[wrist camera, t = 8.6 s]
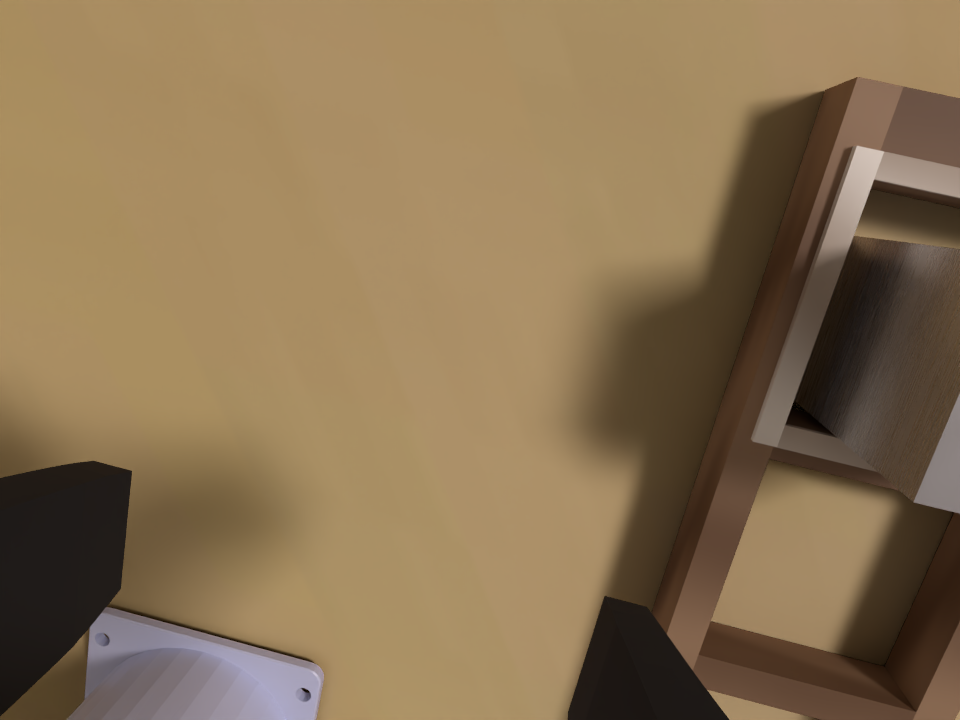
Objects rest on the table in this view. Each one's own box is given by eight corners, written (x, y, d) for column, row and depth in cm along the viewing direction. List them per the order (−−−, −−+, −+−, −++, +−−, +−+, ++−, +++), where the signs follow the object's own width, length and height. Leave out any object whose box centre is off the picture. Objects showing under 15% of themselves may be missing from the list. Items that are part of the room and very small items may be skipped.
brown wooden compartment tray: (814, 897, 22) (839, 965, 20) (579, 831, 22) (580, 891, 20) (1159, 161, 16) (1243, 156, 14) (825, 89, 16) (862, 74, 14)
